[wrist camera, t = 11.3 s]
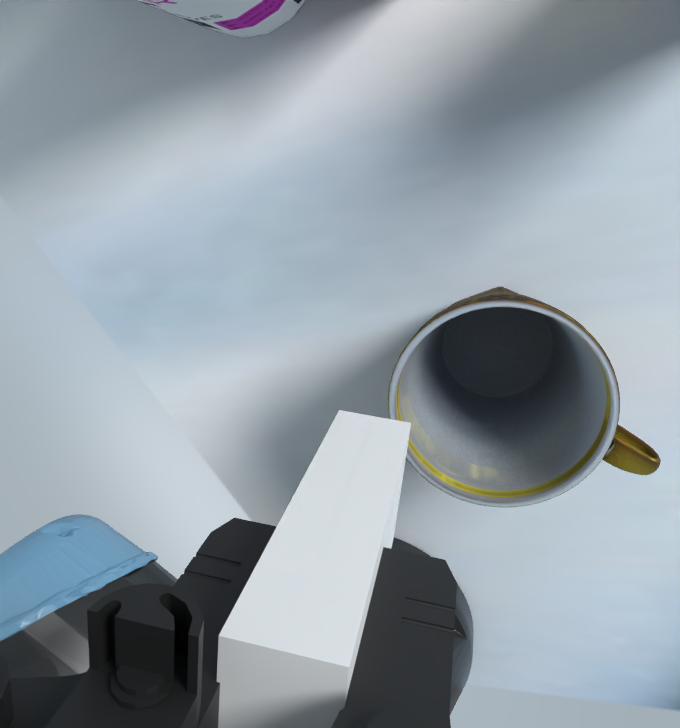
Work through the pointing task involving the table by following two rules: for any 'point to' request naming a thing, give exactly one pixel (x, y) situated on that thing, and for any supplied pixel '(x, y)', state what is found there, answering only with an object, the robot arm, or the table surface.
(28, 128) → the table surface
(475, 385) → the ceramic cup
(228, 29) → the supplement can
